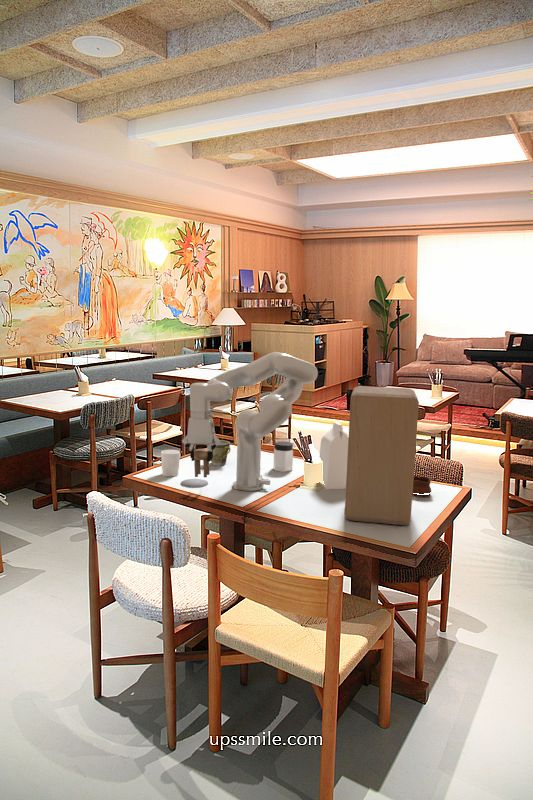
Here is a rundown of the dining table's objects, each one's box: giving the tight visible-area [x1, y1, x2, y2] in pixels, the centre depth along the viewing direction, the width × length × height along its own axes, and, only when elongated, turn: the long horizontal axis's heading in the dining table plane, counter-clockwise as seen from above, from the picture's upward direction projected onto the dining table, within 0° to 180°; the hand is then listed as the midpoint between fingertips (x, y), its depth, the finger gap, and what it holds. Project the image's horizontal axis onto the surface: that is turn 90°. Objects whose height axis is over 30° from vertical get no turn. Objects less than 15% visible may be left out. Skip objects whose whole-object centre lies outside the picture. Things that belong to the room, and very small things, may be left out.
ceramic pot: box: [412, 476, 432, 502], centre depth 247 cm, size 18×18×7 cm
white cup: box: [160, 449, 181, 477], centre depth 264 cm, size 8×8×10 cm
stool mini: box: [193, 448, 210, 478], centre depth 241 cm, size 6×6×10 cm
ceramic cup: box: [210, 439, 231, 466], centre depth 283 cm, size 13×10×10 cm
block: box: [344, 385, 420, 526], centre depth 219 cm, size 22×22×45 cm
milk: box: [319, 421, 349, 490], centre depth 256 cm, size 12×12×26 cm
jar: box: [273, 440, 294, 473], centre depth 278 cm, size 9×8×12 cm
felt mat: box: [180, 478, 209, 488], centre depth 253 cm, size 11×11×1 cm
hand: (201, 459), depth 240 cm, fingers closed on stool mini, 6 cm apart
